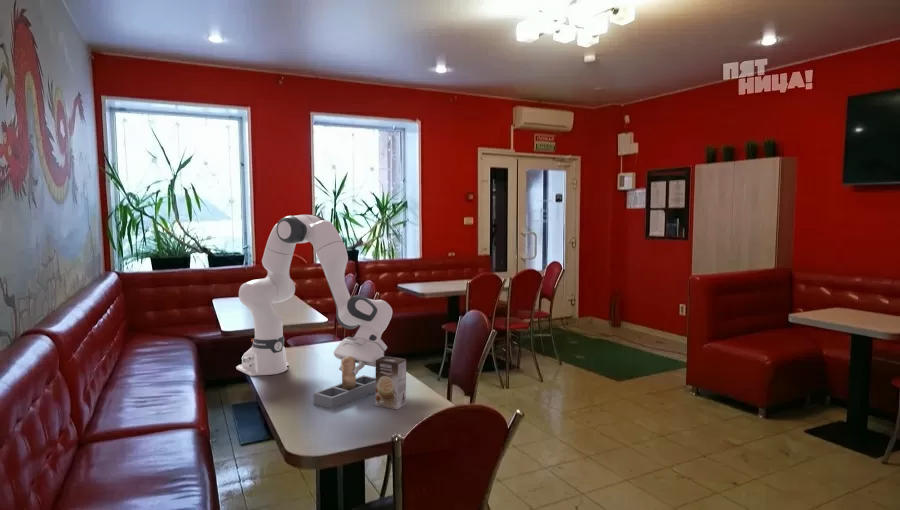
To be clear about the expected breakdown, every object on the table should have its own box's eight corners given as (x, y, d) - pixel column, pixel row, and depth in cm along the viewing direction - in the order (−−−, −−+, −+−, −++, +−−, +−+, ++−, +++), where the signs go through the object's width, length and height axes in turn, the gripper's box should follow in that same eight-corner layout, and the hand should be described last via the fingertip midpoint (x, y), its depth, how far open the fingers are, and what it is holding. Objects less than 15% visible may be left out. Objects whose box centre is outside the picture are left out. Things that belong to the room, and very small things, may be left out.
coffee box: (374, 405, 184) (374, 359, 182) (384, 399, 189) (384, 355, 188) (397, 410, 180) (397, 363, 179) (407, 403, 186) (406, 358, 184)
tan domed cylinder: (339, 387, 192) (338, 356, 191) (349, 384, 196) (348, 353, 195) (349, 390, 190) (348, 358, 189) (358, 386, 193) (358, 355, 193)
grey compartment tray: (313, 403, 185) (313, 393, 185) (363, 384, 206) (363, 375, 206) (332, 409, 180) (331, 398, 180) (381, 389, 201) (381, 379, 201)
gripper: (341, 331, 203) (322, 362, 196) (382, 338, 192) (363, 371, 184) (350, 340, 207) (331, 371, 200) (390, 348, 196) (372, 381, 188)
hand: (347, 371), depth 192 cm, fingers closed on tan domed cylinder, 5 cm apart
